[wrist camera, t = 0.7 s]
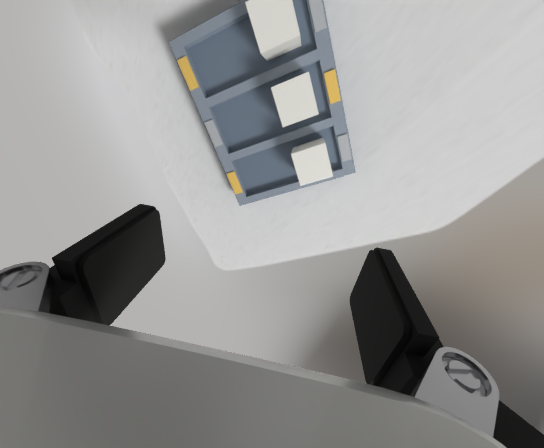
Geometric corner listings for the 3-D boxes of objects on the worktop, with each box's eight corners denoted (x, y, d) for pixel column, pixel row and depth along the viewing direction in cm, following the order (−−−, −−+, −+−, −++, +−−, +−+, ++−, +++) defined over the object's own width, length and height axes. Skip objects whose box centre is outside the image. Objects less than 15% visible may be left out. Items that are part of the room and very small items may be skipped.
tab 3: (322, 137, 29) (325, 142, 25) (329, 167, 30) (333, 176, 27) (292, 147, 30) (290, 154, 26) (301, 175, 32) (300, 186, 28)
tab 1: (290, 0, 23) (287, -21, 19) (301, 45, 25) (300, 34, 21) (255, 18, 24) (245, 2, 20) (267, 61, 26) (260, 53, 22)
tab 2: (308, 76, 26) (308, 71, 22) (317, 112, 28) (318, 114, 24) (275, 89, 27) (270, 87, 23) (286, 124, 29) (282, 127, 25)
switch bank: (315, -24, 24) (316, -41, 21) (351, 167, 32) (356, 173, 29) (181, 47, 28) (167, 41, 25) (244, 198, 37) (239, 206, 34)
